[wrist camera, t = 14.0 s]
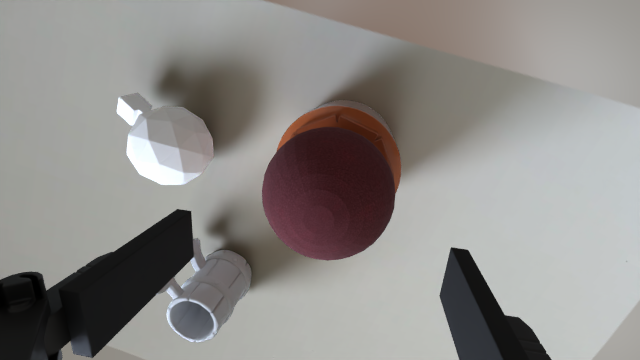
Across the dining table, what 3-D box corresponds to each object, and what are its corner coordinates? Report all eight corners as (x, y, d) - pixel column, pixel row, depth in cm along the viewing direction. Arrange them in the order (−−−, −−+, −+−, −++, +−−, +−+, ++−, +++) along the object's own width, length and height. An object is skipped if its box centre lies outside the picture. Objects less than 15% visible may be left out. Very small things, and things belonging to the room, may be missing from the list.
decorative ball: (270, 202, 30) (226, 257, 21) (299, 103, 27) (262, 115, 18) (367, 238, 30) (366, 310, 21) (409, 141, 27) (430, 175, 17)
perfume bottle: (241, 133, 36) (165, 65, 37) (179, 163, 29) (86, 79, 29) (217, 178, 41) (152, 119, 42) (160, 214, 34) (82, 142, 35)
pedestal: (414, 128, 35) (429, 144, 26) (365, 214, 39) (364, 255, 30) (317, 82, 35) (299, 83, 26) (279, 173, 39) (252, 201, 30)
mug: (225, 301, 47) (179, 371, 35) (175, 239, 45) (109, 293, 33) (264, 280, 44) (228, 349, 33) (213, 214, 42) (157, 264, 31)
